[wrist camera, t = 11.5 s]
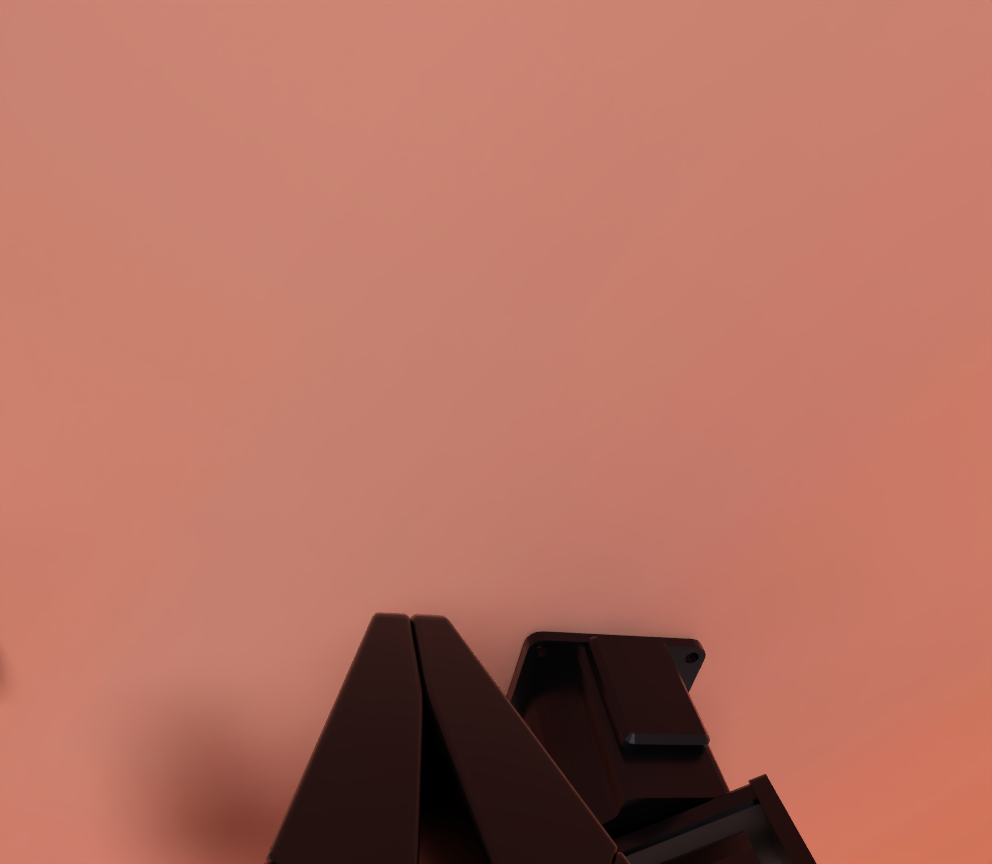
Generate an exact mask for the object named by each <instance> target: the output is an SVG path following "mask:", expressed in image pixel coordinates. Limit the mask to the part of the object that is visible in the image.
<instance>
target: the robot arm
mask: <svg viewBox="0 0 992 864" xmlns="http://www.w3.org/2000/svg"><path fill="white" fill-rule="evenodd" d="M539 646H543V647H541V648H538V647H539ZM705 655H706V654H705V651H704V649H703V647H702V645H701V643H700V642H699V641H697V640H694V639H680V638H661V637H641V636H621V635H601V634H582V633H562V632H536V633H534V634H531V635H530V636H529V637H528V638H527V639H526V641H525V643H524V646H523V649H522V652H521V656H520V659H519V662H518V665H517V668H516V671H515V674H514V677H513V680H512V683H511V686H510V689H509V692H508V696H507V698H506V696H505V695H504V694H503V692H502V691H501V690H500V688H499V687H498V686H497V684H496V683H495V681H494V680H493V679H492V677H491V676H490V675H489V673H488V672H487V671H486V669H485V668H484V667H483V665H482V664H481V663H480V661H479V660H478V659H477V657H476V656H475V655H474V653H473V652H472V651H471V649H470V648H469V646H468V645H467V644H466V642H465V641H464V640H463V638H462V637H461V636H460V634H459V633H458V632H457V630H456V629H455V628H454V626H453V625H452V624H451V622H450V621H449V620H448V619H447V618H446V617H444V616H438V615H418V614H417V615H414V616H412V617H411V618H409V617H408V616H407V615H406V614H398V613H376V614H375V615H374V616H373V617H372V619H371V621H370V623H369V626H368V628H367V630H366V632H365V635H364V637H363V639H362V642H361V644H360V646H359V648H358V651H357V653H356V655H355V657H354V660H353V662H352V664H351V667H350V669H349V671H348V673H347V676H346V678H345V680H344V682H343V685H342V687H341V689H340V692H339V694H338V696H337V698H336V701H335V703H334V705H333V708H332V710H331V712H330V714H329V717H328V719H327V721H326V723H325V726H324V728H323V730H322V733H321V735H320V737H319V739H318V742H317V744H316V746H315V748H314V751H313V753H312V755H311V758H310V760H309V762H308V764H307V767H306V769H305V771H304V773H303V776H302V778H301V780H300V783H299V785H298V787H297V789H296V792H295V794H294V796H293V798H292V801H291V803H290V805H289V808H288V810H287V812H286V814H285V817H284V819H283V821H282V824H281V826H280V828H279V830H278V833H277V835H276V837H275V839H274V842H273V844H272V846H271V849H270V851H269V853H268V855H267V859H266V863H264V864H816V862H815V860H814V859H813V857H812V855H811V853H810V851H809V850H808V848H807V846H806V844H805V843H804V841H803V839H802V837H801V835H800V834H799V832H798V830H797V828H796V827H795V825H794V823H793V821H792V820H791V818H790V816H789V814H788V812H787V811H786V809H785V807H784V805H783V804H782V802H781V800H780V798H779V797H778V795H777V793H776V791H775V789H774V788H773V786H772V784H771V782H770V781H769V779H768V777H767V775H766V774H764V775H761V776H759V777H756V778H754V779H751V780H749V784H748V785H746V786H743V787H741V788H738V789H736V790H733V791H731V792H730V790H729V788H728V786H727V784H726V782H725V779H724V777H723V775H722V773H721V771H720V769H719V767H718V764H717V762H716V760H715V758H714V756H713V754H712V751H711V749H710V747H709V745H708V743H709V742H710V739H709V735H708V733H707V731H706V729H705V727H704V725H703V723H702V721H701V718H700V716H699V714H698V712H697V710H696V708H695V706H694V704H693V701H692V699H691V697H690V695H689V691H690V688H691V686H692V684H693V682H694V680H695V678H696V676H697V674H698V672H699V670H700V668H701V665H702V663H703V661H704V659H705Z"/></svg>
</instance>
